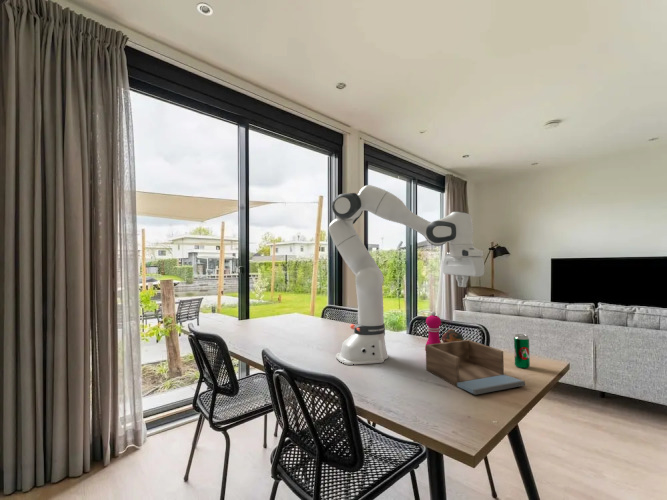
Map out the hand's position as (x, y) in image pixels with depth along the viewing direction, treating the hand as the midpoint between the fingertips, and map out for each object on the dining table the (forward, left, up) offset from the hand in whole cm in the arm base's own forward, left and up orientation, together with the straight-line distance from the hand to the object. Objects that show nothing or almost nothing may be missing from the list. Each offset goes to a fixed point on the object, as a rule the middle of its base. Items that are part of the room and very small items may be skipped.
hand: (462, 286), depth 129 cm
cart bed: (-8, -9, -31) cm, 33 cm away
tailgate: (-8, -18, -29) cm, 35 cm away
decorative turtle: (+10, +19, -31) cm, 38 cm away
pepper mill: (-8, +8, -31) cm, 33 cm away
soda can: (+18, -11, -31) cm, 37 cm away
